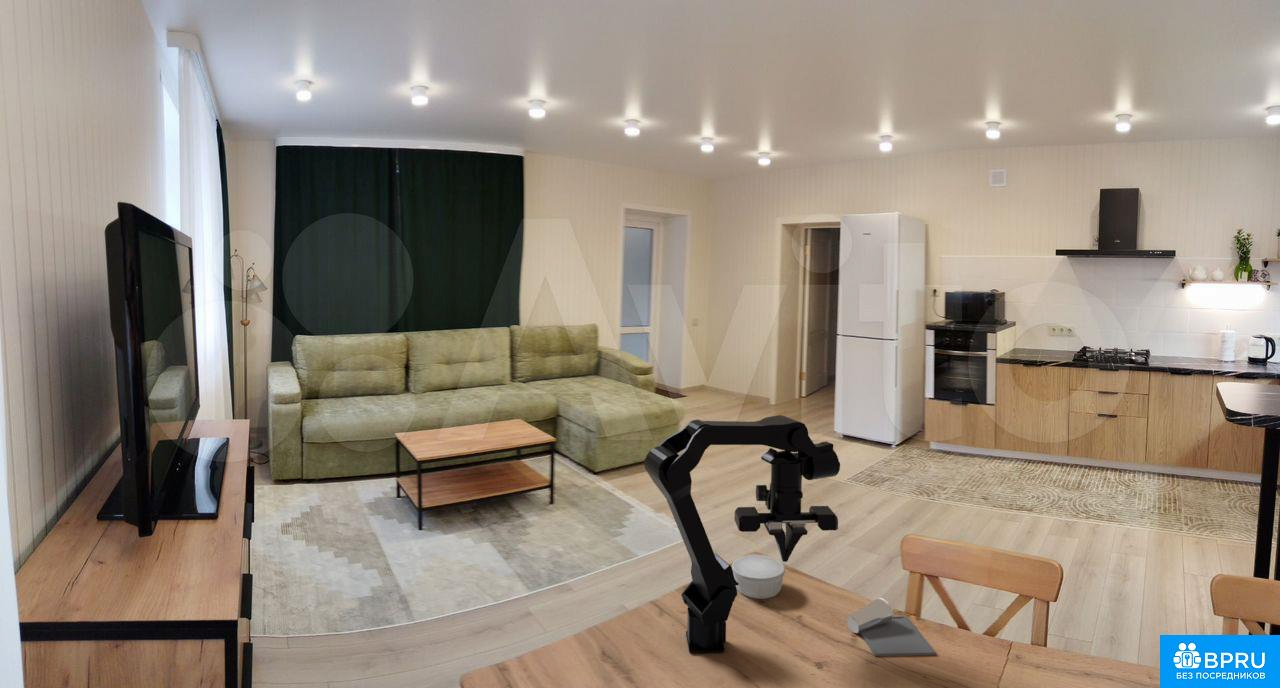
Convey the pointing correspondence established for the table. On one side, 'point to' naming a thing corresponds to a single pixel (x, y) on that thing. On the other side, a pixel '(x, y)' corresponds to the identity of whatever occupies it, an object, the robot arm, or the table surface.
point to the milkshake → (871, 616)
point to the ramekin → (758, 576)
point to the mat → (897, 639)
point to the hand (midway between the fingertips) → (784, 560)
